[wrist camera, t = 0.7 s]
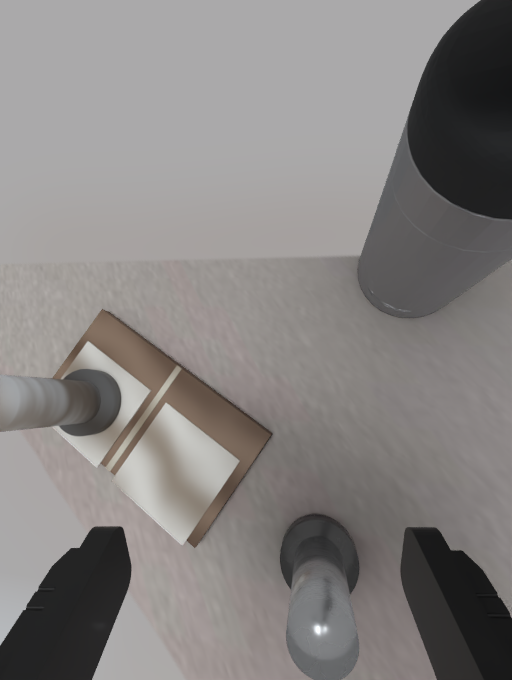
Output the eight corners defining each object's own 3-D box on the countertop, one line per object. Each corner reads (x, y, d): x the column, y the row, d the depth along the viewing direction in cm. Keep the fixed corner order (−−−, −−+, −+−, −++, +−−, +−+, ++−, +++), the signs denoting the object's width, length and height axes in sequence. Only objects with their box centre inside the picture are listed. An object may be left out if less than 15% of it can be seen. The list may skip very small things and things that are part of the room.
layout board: (108, 312, 36) (13, 271, 25) (272, 433, 31) (249, 454, 19) (40, 406, 35) (-91, 410, 24) (196, 546, 30) (124, 638, 19)
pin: (307, 498, 29) (305, 551, 19) (371, 548, 28) (405, 633, 18) (267, 559, 29) (243, 646, 19) (329, 613, 28) (340, 738, 17)
